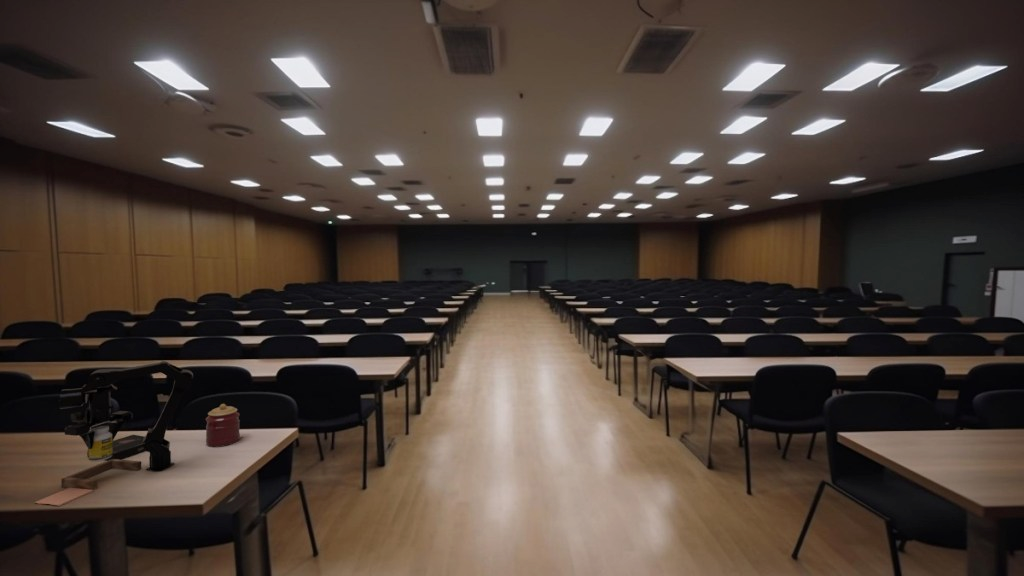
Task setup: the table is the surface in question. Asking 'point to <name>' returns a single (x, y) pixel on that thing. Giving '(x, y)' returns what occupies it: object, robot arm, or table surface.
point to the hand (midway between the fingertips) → (100, 445)
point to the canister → (222, 426)
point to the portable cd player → (127, 447)
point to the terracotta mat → (64, 496)
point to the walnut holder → (80, 478)
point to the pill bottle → (101, 444)
